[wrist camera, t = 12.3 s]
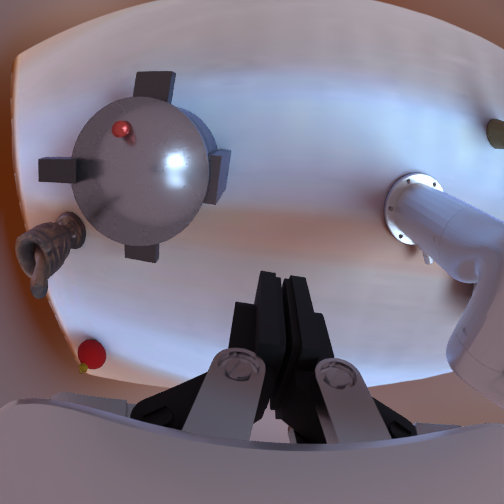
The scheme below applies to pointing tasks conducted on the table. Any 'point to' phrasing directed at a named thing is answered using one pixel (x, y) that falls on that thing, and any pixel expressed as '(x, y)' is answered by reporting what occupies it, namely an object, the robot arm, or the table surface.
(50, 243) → the mortar and pestle
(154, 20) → the table surface
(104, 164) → the lid
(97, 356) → the christmas ornament
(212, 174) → the pot
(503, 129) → the olive green tall piece
